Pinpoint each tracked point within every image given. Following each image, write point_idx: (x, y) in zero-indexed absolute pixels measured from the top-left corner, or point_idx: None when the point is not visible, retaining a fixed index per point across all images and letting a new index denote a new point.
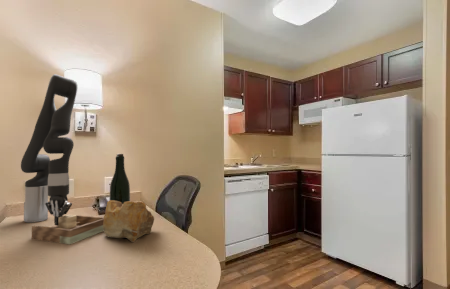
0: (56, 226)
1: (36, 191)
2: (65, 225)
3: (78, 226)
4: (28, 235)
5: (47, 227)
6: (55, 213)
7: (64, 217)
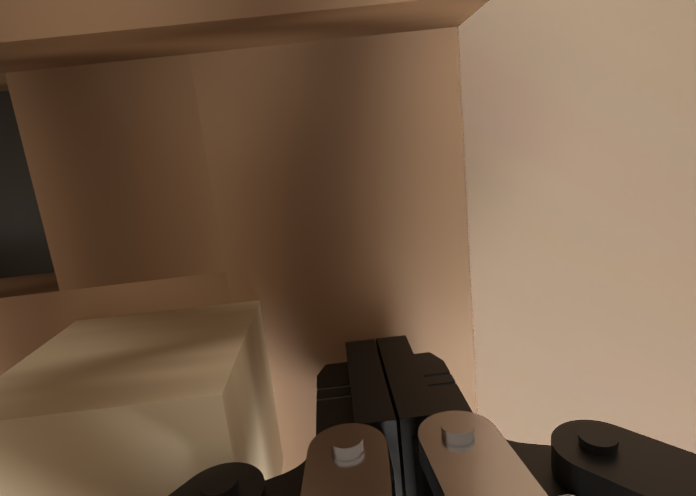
0: None
1: None
2: (64, 342)
3: None
4: (638, 89)
5: (21, 2)
6: (430, 473)
7: (61, 446)
